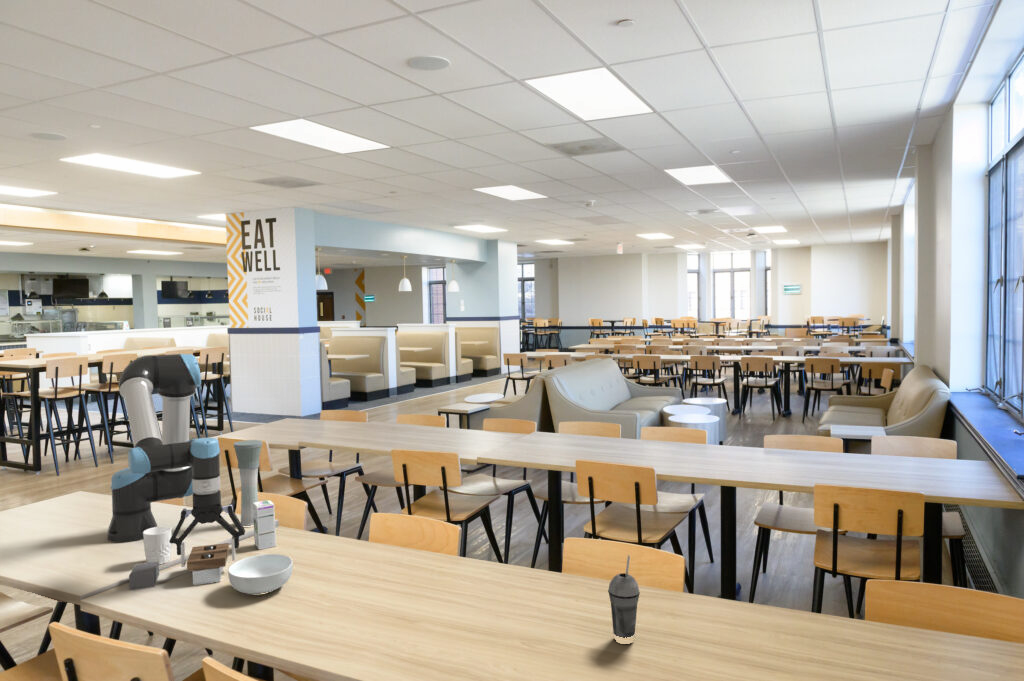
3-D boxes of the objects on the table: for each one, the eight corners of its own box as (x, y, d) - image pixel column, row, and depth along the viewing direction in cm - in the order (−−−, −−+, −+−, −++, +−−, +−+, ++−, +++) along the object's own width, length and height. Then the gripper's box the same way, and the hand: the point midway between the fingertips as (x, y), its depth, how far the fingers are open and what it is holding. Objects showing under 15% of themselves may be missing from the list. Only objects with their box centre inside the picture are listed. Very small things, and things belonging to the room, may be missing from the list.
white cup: (178, 557, 210) (177, 526, 209) (162, 567, 202) (161, 534, 201) (154, 556, 210) (153, 525, 210) (138, 566, 203) (137, 534, 202)
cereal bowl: (215, 597, 180) (214, 571, 180) (258, 574, 196) (257, 550, 195) (265, 606, 174) (264, 580, 174) (305, 581, 190) (305, 557, 190)
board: (193, 555, 200) (192, 547, 200) (228, 550, 204) (228, 542, 204) (187, 571, 188) (186, 562, 188) (225, 566, 191) (225, 557, 191)
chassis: (199, 566, 202) (198, 543, 202) (224, 563, 204) (223, 540, 204) (193, 585, 188) (192, 561, 188) (219, 581, 190) (219, 558, 190)
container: (240, 520, 246) (238, 440, 244) (267, 519, 247) (265, 439, 245) (232, 529, 236) (230, 445, 235) (260, 527, 237) (258, 444, 236)
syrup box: (276, 546, 218) (275, 503, 218) (257, 550, 215) (256, 506, 214) (272, 541, 223) (270, 499, 222) (253, 545, 220) (252, 502, 219)
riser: (136, 577, 194) (135, 564, 194) (159, 574, 196) (158, 561, 196) (129, 589, 185) (129, 575, 185) (153, 586, 187) (153, 572, 187)
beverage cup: (605, 633, 158) (604, 550, 157) (635, 631, 159) (635, 549, 158) (612, 648, 151) (612, 562, 150) (643, 647, 151) (643, 561, 150)
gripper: (156, 499, 187) (159, 572, 188) (251, 490, 195) (253, 560, 197) (161, 492, 194) (164, 563, 196) (252, 484, 203) (254, 552, 204)
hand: (209, 562), depth 196 cm, fingers open, 13 cm apart
